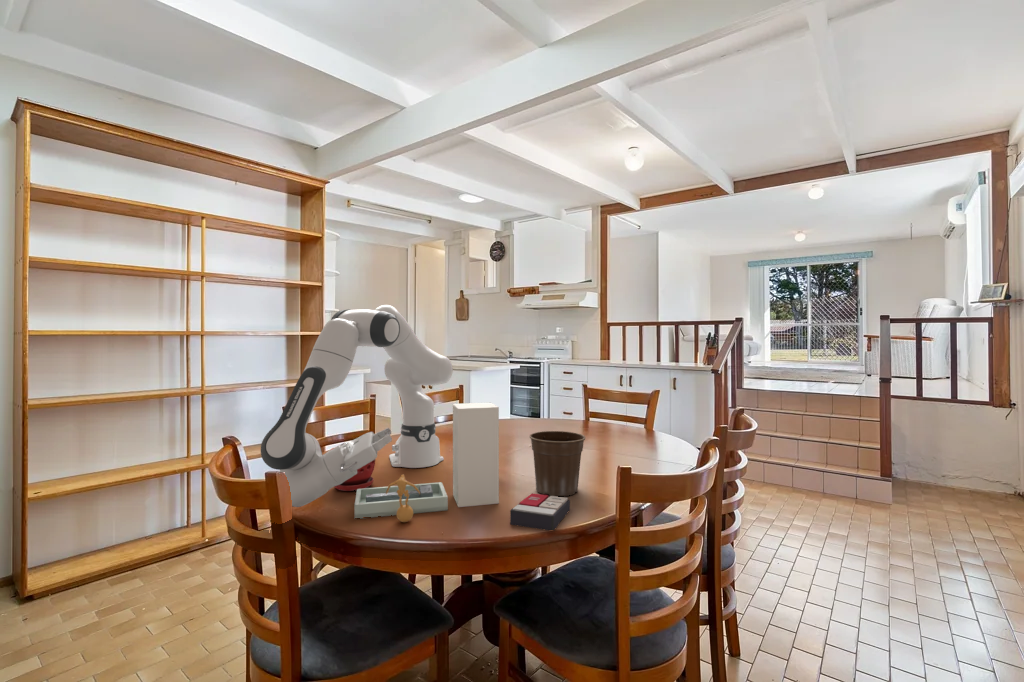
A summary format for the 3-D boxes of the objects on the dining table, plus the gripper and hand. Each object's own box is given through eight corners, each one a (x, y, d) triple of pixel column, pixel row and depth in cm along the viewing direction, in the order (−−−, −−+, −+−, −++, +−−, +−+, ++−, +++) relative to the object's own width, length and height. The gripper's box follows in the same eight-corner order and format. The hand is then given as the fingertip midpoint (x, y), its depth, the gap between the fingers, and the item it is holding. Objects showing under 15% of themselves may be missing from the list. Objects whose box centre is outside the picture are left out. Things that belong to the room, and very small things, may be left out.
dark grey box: (570, 496, 125) (553, 513, 111) (570, 513, 124) (553, 532, 111) (530, 491, 129) (509, 507, 115) (530, 507, 129) (509, 525, 115)
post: (453, 495, 136) (452, 403, 136) (490, 491, 139) (490, 402, 139) (458, 507, 126) (458, 408, 126) (498, 503, 129) (498, 407, 129)
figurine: (423, 518, 118) (423, 470, 118) (417, 528, 112) (417, 477, 112) (390, 518, 119) (390, 469, 118) (382, 527, 113) (382, 476, 112)
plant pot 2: (568, 479, 151) (568, 428, 150) (596, 495, 136) (596, 438, 136) (520, 486, 144) (520, 432, 144) (544, 503, 129) (544, 443, 129)
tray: (357, 501, 131) (357, 488, 131) (441, 494, 137) (441, 482, 136) (354, 519, 118) (354, 504, 118) (447, 510, 124) (447, 496, 124)
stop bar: (366, 500, 128) (366, 489, 128) (430, 495, 133) (430, 484, 133) (365, 509, 122) (365, 498, 122) (432, 503, 126) (432, 492, 126)
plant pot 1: (384, 483, 148) (384, 444, 147) (355, 496, 135) (355, 453, 135) (350, 478, 152) (350, 440, 152) (319, 490, 140) (319, 449, 140)
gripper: (332, 462, 113) (384, 430, 116) (339, 444, 133) (384, 417, 136) (346, 484, 114) (397, 452, 117) (351, 462, 133) (395, 435, 137)
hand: (390, 433), depth 126 cm, fingers open, 8 cm apart
